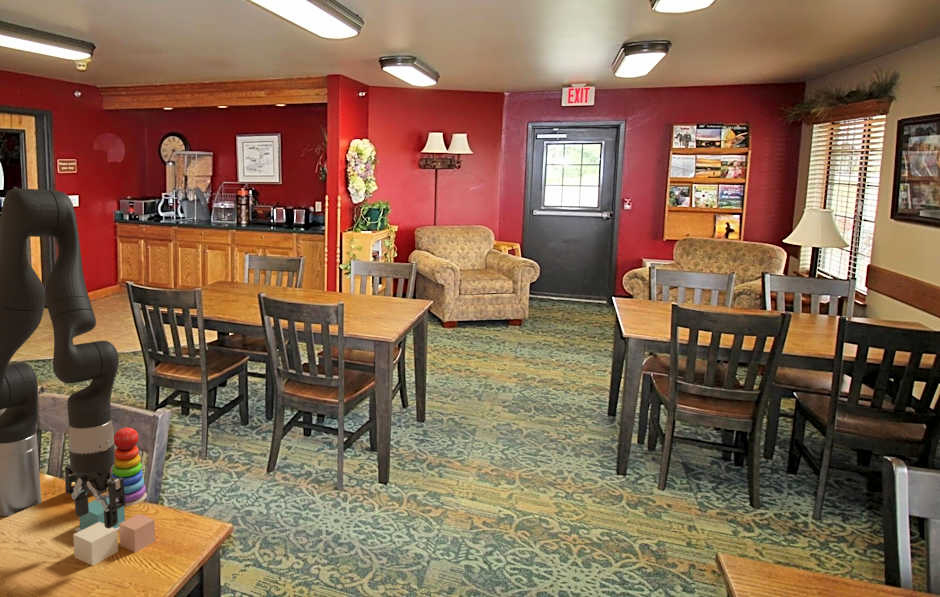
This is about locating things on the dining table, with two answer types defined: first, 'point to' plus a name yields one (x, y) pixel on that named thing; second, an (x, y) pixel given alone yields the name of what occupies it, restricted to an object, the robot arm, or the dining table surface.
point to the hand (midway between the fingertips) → (96, 520)
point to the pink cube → (137, 532)
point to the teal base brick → (98, 515)
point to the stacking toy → (129, 466)
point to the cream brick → (95, 543)
